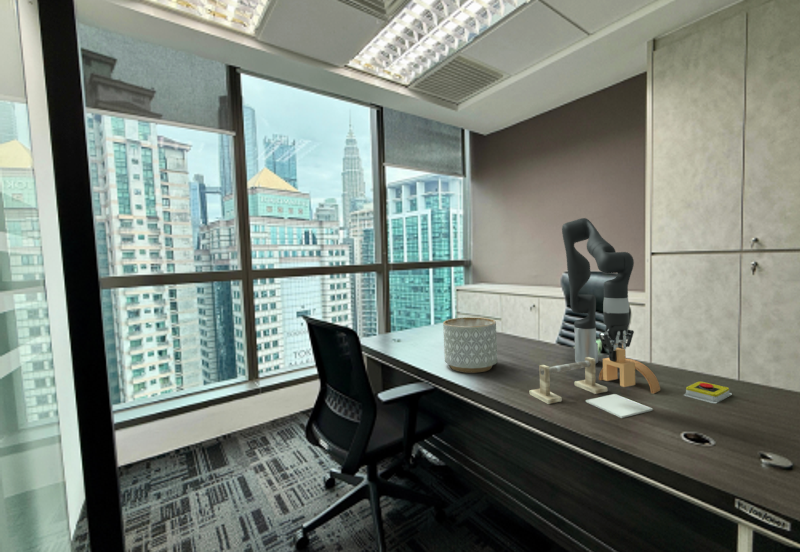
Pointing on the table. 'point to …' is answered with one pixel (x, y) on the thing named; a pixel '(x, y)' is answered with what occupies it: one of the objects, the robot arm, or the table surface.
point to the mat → (619, 405)
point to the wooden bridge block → (625, 369)
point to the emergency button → (707, 392)
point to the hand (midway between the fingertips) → (616, 360)
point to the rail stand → (585, 384)
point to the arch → (645, 372)
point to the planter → (470, 344)
